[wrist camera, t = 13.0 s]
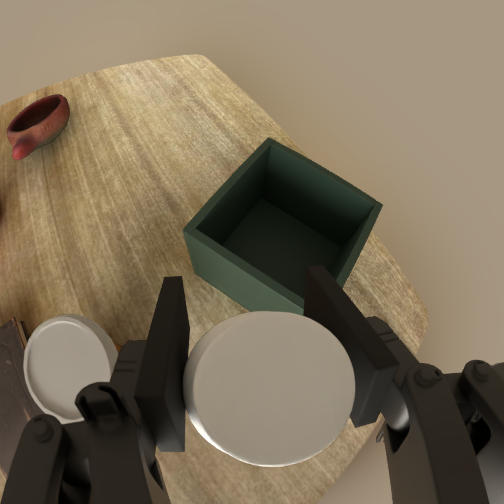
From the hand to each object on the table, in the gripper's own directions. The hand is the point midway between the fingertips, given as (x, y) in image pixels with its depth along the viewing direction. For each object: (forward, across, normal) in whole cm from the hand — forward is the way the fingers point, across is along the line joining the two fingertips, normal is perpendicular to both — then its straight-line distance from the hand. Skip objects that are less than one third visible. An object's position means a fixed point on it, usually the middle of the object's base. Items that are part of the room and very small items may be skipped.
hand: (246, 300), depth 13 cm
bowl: (+39, -32, +11) cm, 51 cm away
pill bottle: (0, 0, -5) cm, 5 cm away
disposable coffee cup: (+12, -14, -16) cm, 25 cm away
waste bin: (+21, +6, -8) cm, 23 cm away
